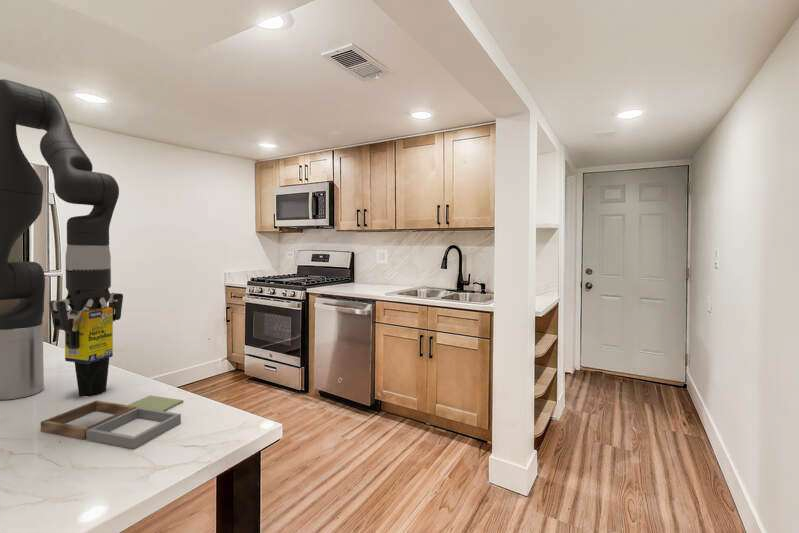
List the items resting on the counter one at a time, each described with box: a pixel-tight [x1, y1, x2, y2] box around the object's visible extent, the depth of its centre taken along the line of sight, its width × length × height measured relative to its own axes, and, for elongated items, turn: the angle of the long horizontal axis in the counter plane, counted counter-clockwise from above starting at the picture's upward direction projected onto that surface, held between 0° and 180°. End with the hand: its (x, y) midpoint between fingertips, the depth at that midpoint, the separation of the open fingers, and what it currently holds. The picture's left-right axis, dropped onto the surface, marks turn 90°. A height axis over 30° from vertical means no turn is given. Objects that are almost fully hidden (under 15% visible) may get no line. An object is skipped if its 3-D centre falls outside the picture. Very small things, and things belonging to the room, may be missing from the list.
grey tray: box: [85, 407, 182, 450], centre depth 83 cm, size 12×12×2 cm
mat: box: [127, 394, 184, 412], centre depth 95 cm, size 10×8×1 cm
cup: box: [74, 357, 110, 397], centre depth 102 cm, size 8×8×12 cm
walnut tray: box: [40, 400, 136, 441], centre depth 85 cm, size 12×12×2 cm
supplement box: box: [64, 308, 114, 364], centre depth 84 cm, size 6×6×11 cm
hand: (89, 344), depth 84 cm, fingers closed on supplement box, 6 cm apart
